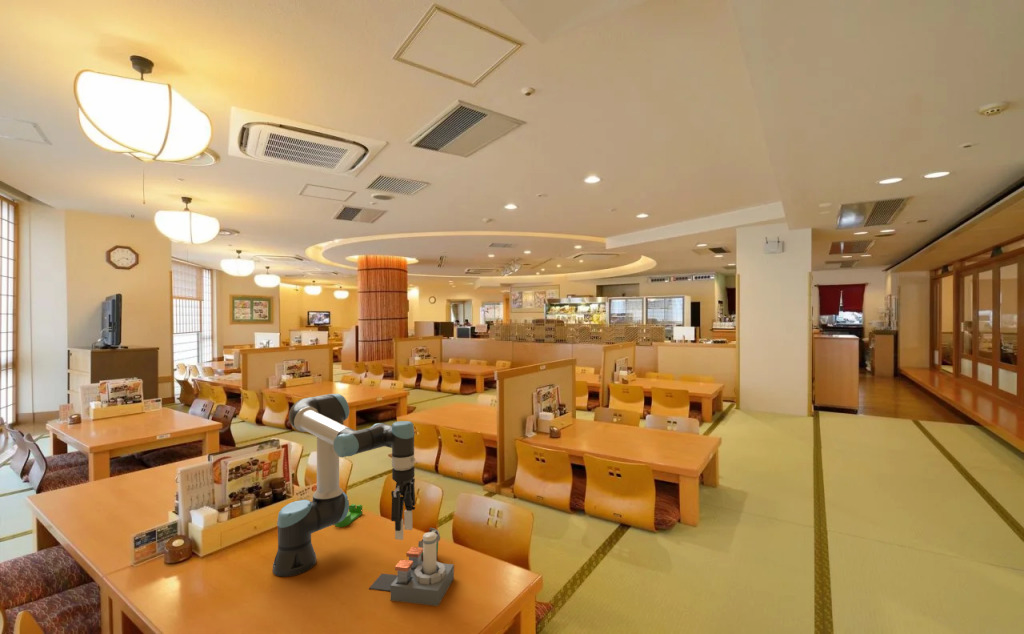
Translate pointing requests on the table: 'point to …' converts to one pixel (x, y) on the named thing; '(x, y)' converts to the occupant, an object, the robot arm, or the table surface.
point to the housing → (424, 586)
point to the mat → (383, 582)
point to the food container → (436, 542)
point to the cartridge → (429, 553)
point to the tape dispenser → (350, 515)
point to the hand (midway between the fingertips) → (403, 533)
